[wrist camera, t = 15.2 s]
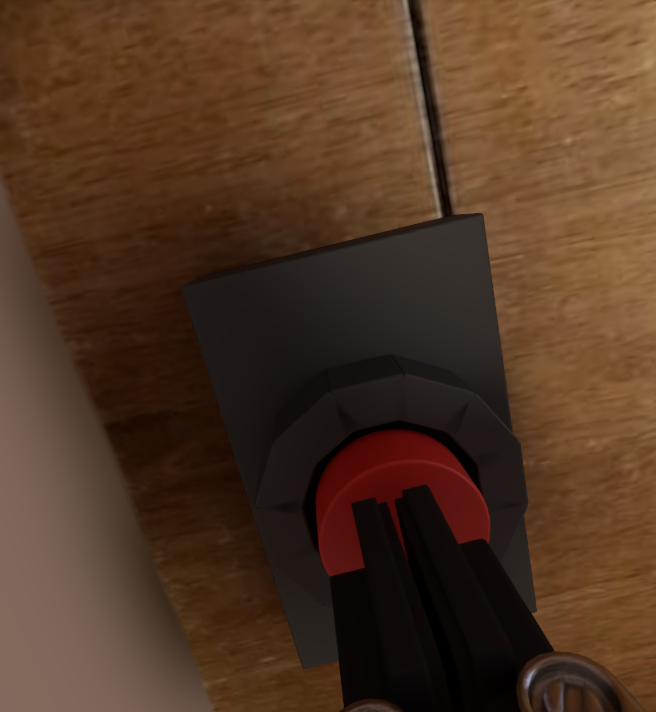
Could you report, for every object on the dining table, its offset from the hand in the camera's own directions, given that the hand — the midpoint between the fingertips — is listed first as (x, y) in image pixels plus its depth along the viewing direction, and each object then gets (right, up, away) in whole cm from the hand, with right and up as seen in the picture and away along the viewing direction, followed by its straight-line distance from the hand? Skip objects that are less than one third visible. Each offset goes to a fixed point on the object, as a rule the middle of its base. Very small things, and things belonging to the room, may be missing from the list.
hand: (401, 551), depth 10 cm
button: (0, 0, +2) cm, 2 cm away
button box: (0, +1, +6) cm, 6 cm away
